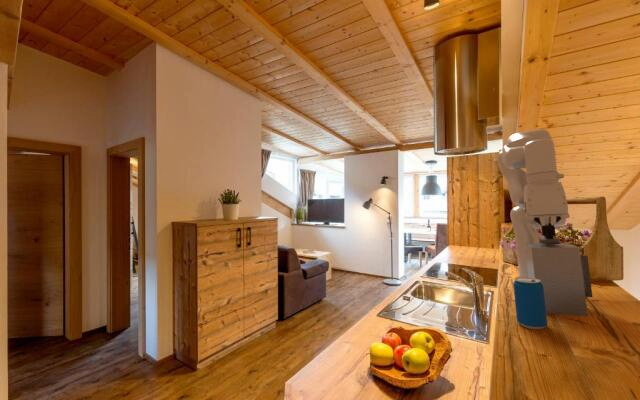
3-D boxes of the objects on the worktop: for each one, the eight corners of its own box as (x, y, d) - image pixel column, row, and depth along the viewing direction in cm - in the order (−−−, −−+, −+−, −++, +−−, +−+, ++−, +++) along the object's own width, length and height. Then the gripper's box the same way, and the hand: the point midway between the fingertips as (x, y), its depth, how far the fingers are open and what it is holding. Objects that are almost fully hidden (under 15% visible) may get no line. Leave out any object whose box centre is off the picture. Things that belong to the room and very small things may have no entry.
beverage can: (553, 330, 70) (548, 282, 71) (524, 330, 72) (519, 282, 72) (539, 320, 77) (534, 276, 77) (512, 320, 78) (508, 277, 79)
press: (530, 301, 92) (524, 243, 94) (585, 304, 86) (578, 242, 87) (538, 312, 83) (531, 247, 84) (601, 317, 76) (592, 247, 78)
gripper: (569, 177, 87) (576, 236, 86) (511, 183, 94) (517, 237, 93) (577, 175, 81) (585, 239, 79) (515, 181, 88) (521, 240, 86)
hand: (549, 238), depth 86 cm, fingers closed
